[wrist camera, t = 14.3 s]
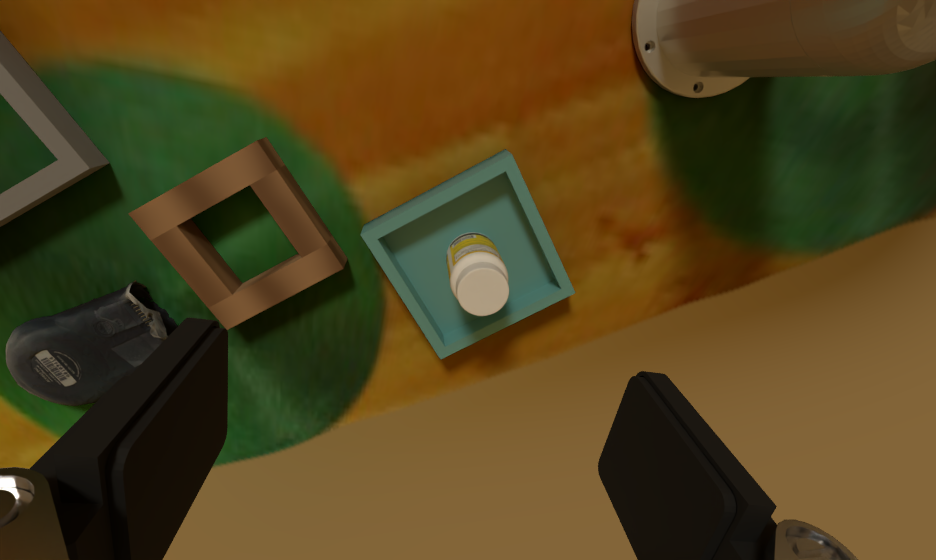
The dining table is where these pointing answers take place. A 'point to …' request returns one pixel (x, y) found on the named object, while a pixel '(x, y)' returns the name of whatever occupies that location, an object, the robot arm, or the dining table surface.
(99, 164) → the gray rectangular frame
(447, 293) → the tray
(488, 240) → the supplement bottle
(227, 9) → the dining table surface
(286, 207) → the square wooden frame
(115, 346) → the electronic device
